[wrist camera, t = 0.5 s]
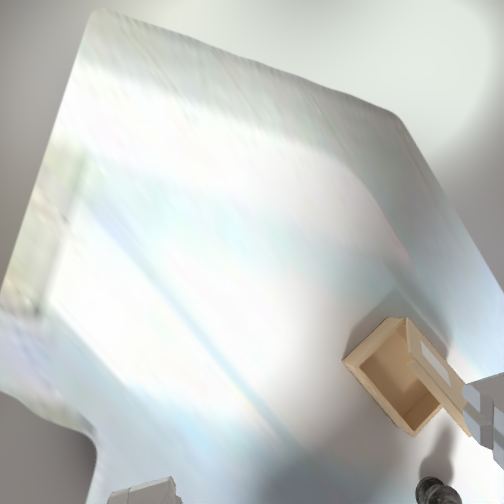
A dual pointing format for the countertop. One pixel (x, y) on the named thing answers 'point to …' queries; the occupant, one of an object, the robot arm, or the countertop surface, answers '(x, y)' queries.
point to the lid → (436, 374)
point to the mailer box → (393, 376)
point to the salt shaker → (436, 492)
